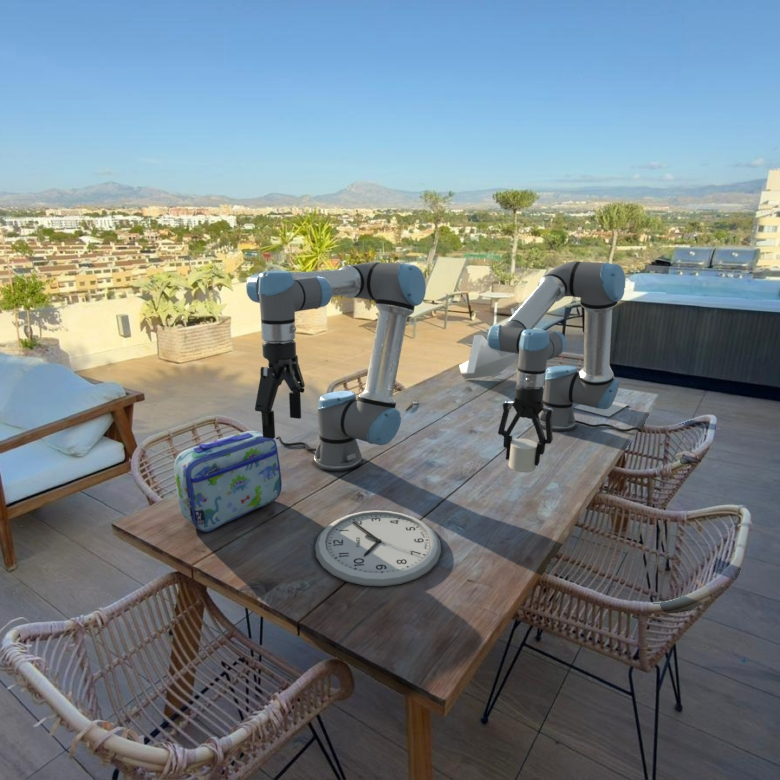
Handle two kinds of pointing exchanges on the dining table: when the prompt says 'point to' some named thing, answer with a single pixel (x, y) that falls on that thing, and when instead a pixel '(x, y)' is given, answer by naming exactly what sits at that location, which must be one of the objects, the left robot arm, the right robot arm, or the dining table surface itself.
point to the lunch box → (227, 478)
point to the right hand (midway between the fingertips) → (522, 460)
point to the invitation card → (606, 412)
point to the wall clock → (378, 548)
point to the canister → (522, 455)
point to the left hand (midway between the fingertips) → (283, 427)
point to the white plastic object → (486, 359)
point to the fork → (413, 403)
